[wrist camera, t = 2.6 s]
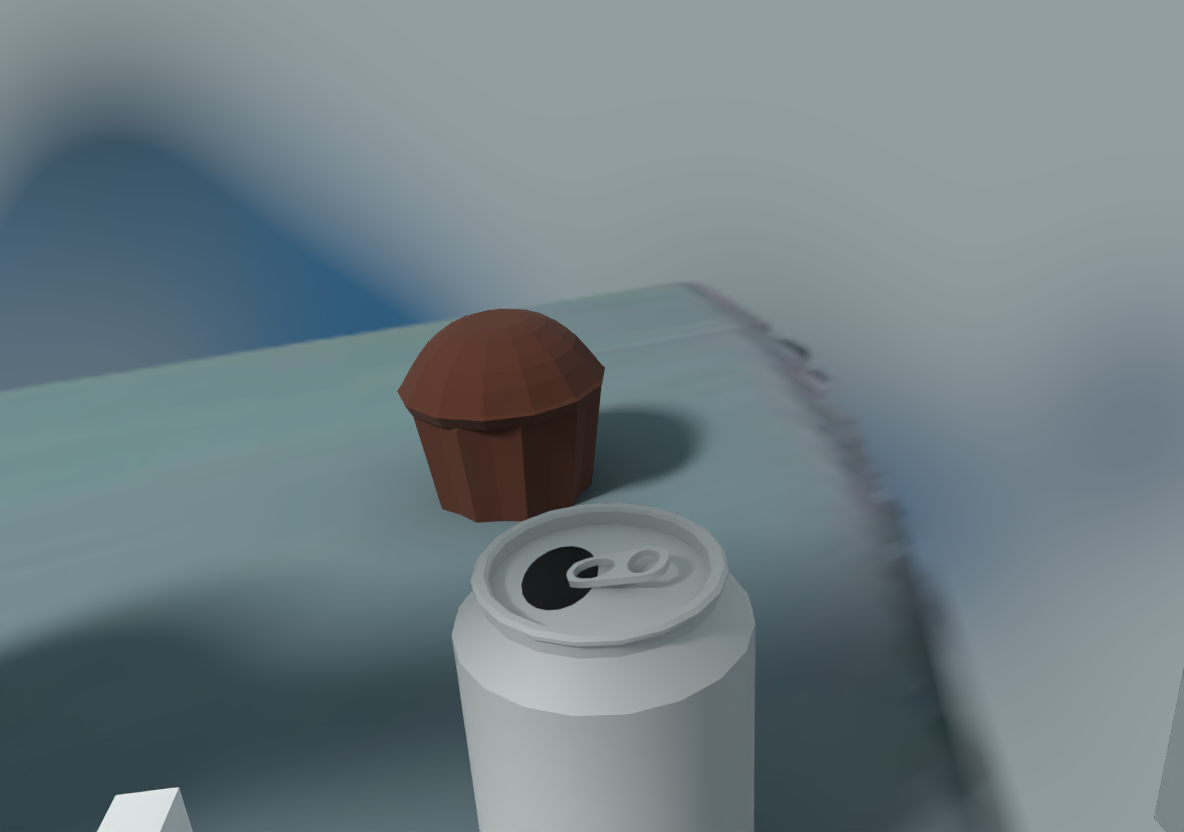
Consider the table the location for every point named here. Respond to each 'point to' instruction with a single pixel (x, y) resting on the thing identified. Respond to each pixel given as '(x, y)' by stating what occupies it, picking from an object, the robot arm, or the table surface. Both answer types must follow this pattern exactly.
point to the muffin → (506, 414)
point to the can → (608, 676)
